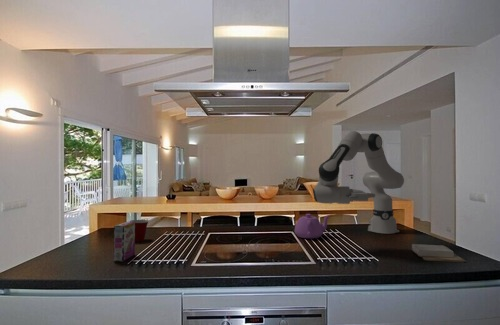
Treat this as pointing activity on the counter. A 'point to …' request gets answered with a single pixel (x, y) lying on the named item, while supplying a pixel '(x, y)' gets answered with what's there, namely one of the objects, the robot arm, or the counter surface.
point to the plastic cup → (140, 229)
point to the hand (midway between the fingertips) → (374, 195)
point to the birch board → (444, 259)
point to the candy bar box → (124, 241)
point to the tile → (432, 251)
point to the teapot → (310, 227)
